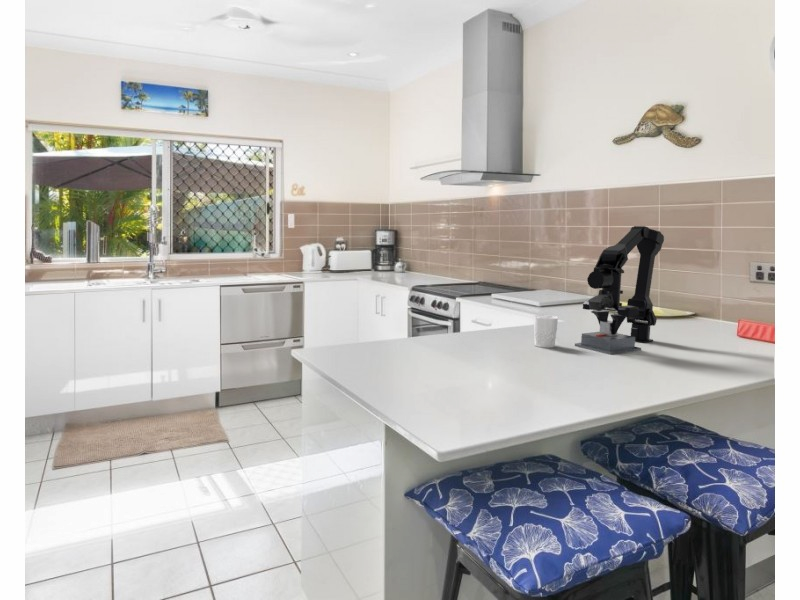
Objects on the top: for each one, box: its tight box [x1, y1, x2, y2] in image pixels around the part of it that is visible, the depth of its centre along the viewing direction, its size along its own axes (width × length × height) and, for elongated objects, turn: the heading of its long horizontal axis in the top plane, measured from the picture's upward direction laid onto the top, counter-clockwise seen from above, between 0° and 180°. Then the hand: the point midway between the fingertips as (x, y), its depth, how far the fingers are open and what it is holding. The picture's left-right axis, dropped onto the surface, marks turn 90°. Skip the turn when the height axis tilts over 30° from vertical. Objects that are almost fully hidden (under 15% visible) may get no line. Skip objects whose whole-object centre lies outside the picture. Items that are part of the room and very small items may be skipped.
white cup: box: [533, 314, 559, 349], centre depth 192 cm, size 8×8×10 cm
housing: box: [574, 331, 642, 356], centre depth 190 cm, size 15×15×5 cm
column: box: [598, 320, 619, 337], centre depth 190 cm, size 4×4×8 cm
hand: (608, 333), depth 190 cm, fingers closed on column, 4 cm apart
